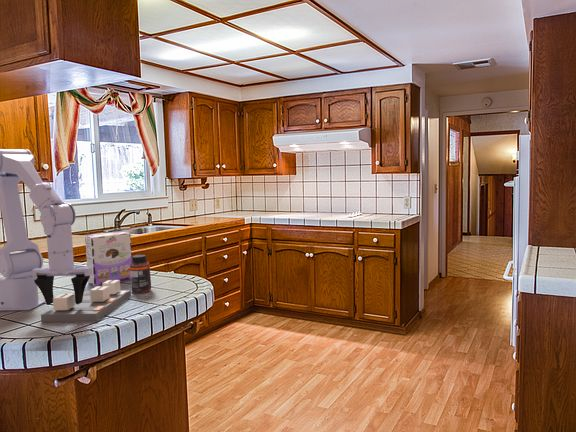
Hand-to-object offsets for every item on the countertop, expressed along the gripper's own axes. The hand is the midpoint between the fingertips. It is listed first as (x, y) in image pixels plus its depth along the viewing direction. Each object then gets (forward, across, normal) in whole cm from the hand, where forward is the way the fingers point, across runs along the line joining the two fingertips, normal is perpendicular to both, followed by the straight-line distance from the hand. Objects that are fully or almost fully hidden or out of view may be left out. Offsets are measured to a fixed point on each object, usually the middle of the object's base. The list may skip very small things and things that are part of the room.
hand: (64, 303), depth 118 cm
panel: (+4, +3, +8) cm, 9 cm away
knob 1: (+1, +6, +7) cm, 10 cm away
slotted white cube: (+1, 0, 0) cm, 1 cm away
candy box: (+4, -5, +40) cm, 40 cm away
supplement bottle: (+4, +11, +25) cm, 28 cm away
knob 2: (+1, +6, +15) cm, 16 cm away
